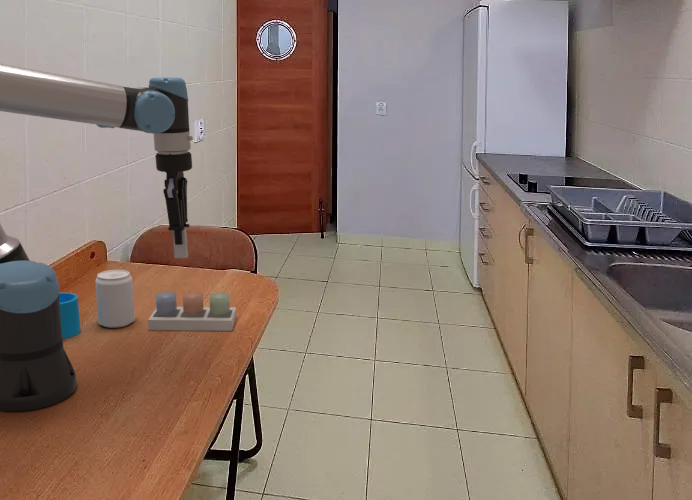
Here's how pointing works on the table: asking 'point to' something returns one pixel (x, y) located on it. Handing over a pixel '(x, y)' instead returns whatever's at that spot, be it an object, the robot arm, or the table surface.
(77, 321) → the mug
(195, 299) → the button terracotta
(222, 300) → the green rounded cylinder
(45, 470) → the table surface
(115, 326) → the beverage can
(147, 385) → the table surface
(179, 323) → the three-ball tray
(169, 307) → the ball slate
